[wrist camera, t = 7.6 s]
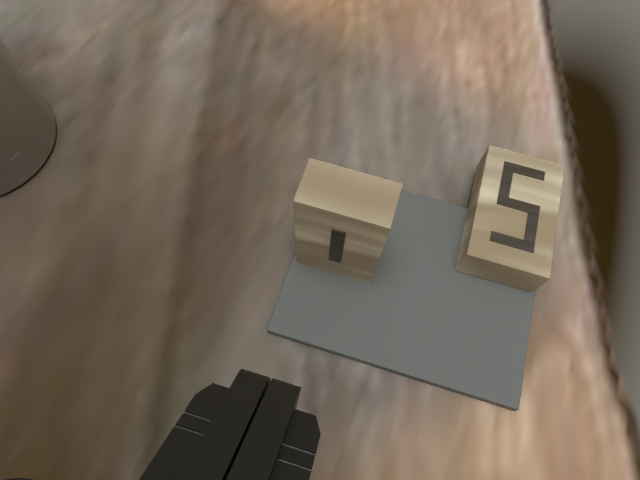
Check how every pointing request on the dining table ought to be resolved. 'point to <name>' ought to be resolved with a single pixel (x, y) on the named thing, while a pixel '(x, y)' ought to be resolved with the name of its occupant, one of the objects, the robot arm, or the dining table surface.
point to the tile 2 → (511, 219)
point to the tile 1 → (343, 219)
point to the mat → (416, 310)
